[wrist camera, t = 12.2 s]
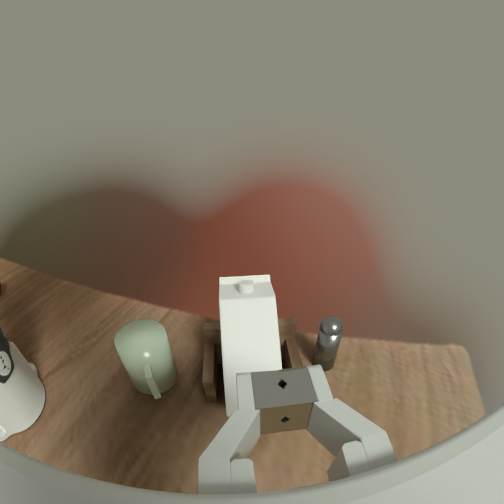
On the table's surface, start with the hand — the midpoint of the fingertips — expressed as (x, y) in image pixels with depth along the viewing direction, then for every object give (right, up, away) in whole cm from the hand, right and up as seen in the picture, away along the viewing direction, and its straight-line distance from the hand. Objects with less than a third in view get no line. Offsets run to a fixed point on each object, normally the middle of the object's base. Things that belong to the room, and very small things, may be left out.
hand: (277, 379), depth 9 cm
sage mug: (-16, -16, +30) cm, 38 cm away
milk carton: (-1, -17, +23) cm, 28 cm away
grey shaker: (+11, -14, +34) cm, 38 cm away
